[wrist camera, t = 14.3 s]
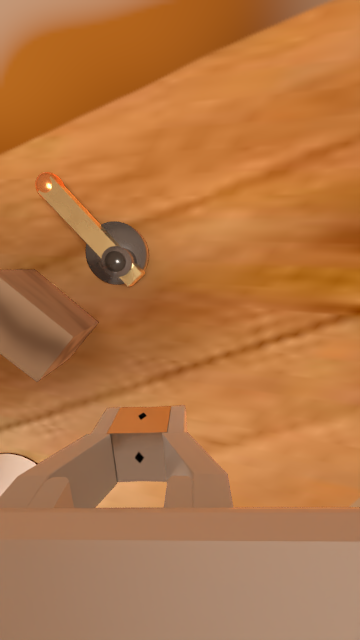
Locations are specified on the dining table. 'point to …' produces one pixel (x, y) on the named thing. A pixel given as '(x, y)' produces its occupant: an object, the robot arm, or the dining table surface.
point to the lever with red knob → (98, 235)
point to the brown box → (38, 323)
